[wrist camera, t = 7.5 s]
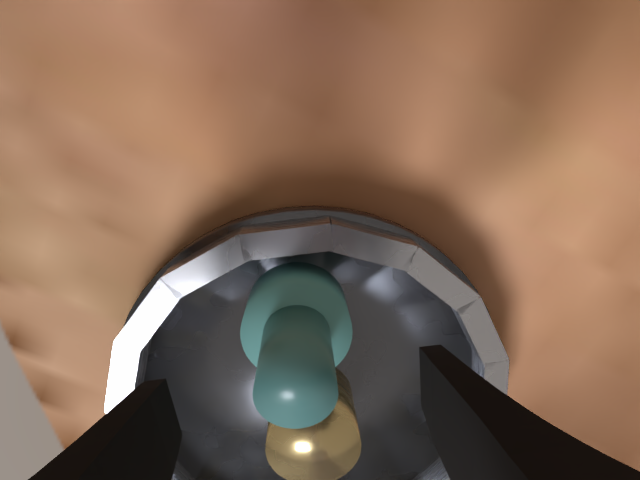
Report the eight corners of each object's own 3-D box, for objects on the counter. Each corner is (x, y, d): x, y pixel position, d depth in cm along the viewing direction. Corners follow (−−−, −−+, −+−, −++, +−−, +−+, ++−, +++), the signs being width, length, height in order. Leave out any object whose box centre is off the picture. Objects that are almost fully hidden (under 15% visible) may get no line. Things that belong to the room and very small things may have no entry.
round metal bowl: (485, 492, 20) (523, 569, 17) (173, 532, 20) (146, 618, 16) (498, 181, 15) (559, 201, 11) (70, 233, 14) (-1, 269, 11)
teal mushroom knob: (352, 340, 16) (374, 437, 11) (259, 356, 16) (242, 460, 11) (337, 253, 14) (356, 320, 10) (237, 271, 14) (206, 348, 10)
